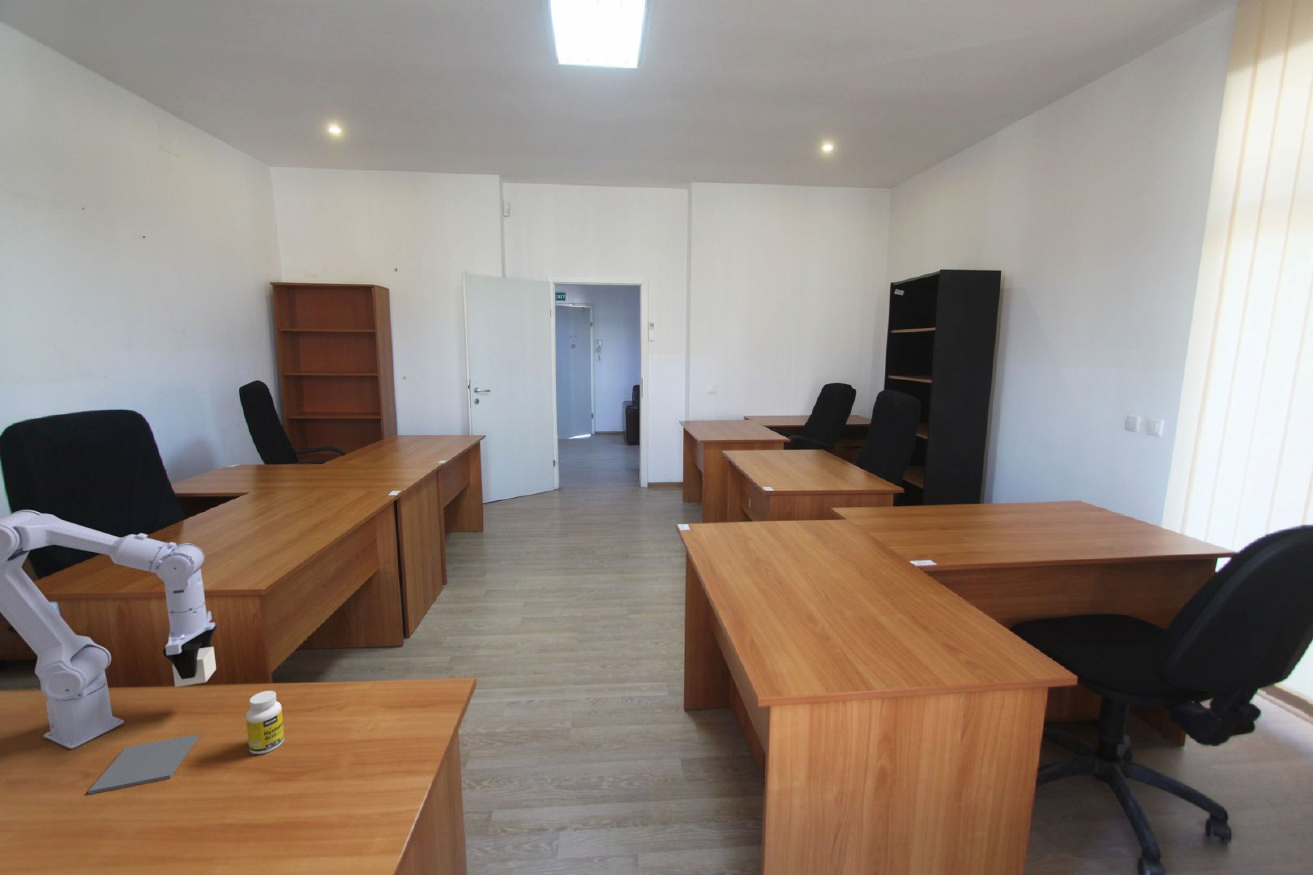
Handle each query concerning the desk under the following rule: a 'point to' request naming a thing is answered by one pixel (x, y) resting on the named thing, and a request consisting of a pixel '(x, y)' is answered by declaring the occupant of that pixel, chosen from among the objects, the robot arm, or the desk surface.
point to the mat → (144, 764)
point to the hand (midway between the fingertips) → (194, 669)
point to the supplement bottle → (264, 723)
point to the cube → (199, 668)
